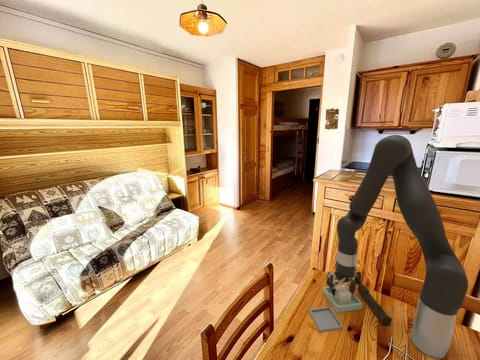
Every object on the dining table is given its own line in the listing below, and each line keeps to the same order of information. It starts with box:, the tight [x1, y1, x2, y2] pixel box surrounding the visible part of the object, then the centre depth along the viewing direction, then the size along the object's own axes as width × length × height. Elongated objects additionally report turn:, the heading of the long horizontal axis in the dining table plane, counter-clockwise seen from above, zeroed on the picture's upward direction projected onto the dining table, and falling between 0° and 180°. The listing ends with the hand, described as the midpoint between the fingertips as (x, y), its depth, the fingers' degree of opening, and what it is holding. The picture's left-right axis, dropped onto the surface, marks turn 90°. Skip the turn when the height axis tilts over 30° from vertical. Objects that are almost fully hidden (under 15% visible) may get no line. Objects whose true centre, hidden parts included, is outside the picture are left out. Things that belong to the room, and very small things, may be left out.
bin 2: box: [322, 284, 364, 313], centre depth 91 cm, size 11×11×3 cm
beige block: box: [333, 286, 351, 305], centre depth 91 cm, size 5×5×5 cm
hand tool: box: [357, 283, 393, 326], centre depth 89 cm, size 19×4×5 cm, turn 179°
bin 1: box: [308, 306, 344, 333], centre depth 82 cm, size 9×9×2 cm
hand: (342, 293), depth 91 cm, fingers open, 8 cm apart
